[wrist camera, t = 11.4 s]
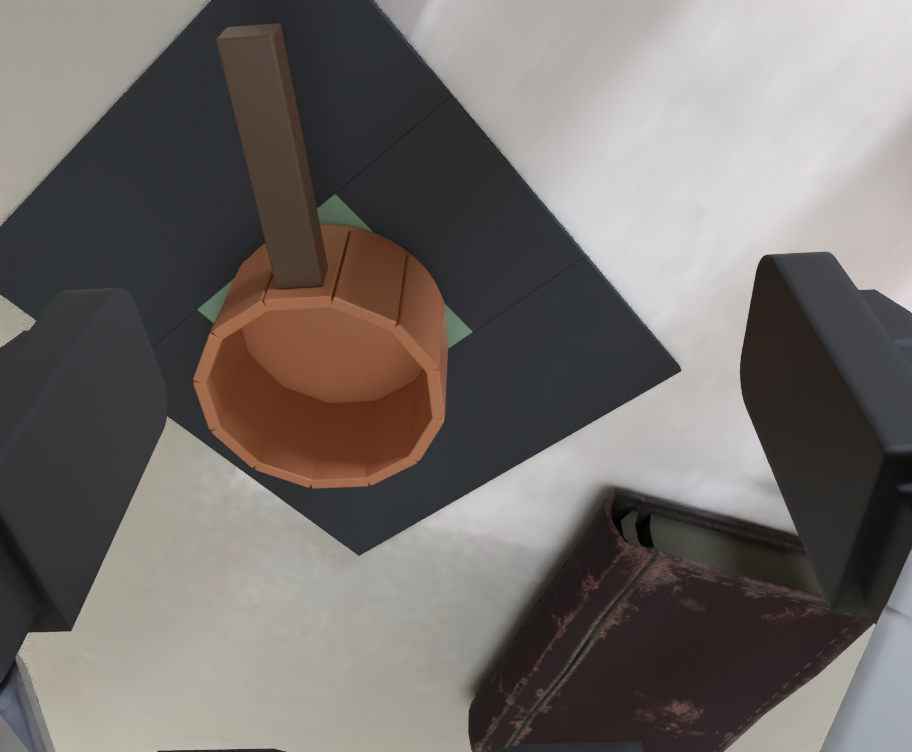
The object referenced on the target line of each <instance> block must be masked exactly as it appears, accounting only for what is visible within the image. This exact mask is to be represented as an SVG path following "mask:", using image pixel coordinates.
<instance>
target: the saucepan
mask: <svg viewBox="0 0 912 752" xmlns="http://www.w3.org/2000/svg"><path fill="white" fill-rule="evenodd" d="M216 43H217V47H218V51H219V56H220V60H221V64H222V68H223V72H224V76H225V80H226V84H227V88H228V92H229V96H230V101H231V105H232V109H233V113H234V117H235V121H236V125H237V129H238V133H239V137H240V141H241V146H242V150H243V154H244V158H245V162H246V166H247V170H248V174H249V178H250V182H251V186H252V191H253V195H254V199H255V203H256V207H257V211H258V215H259V219H260V223H261V227H262V232H263V236H264V240H265V244H263V245H262V246H261V247H259V248H258V249H257V250H256V251H255V252H254V253H253V254H252V255H251V256H250V257H249V258H248V259H247V260H245V261H244V262H243V264H242V265H240V267H239V270H238V272H237V274H236V276H235V278H234V281H233V283H232V285H231V287H230V289H229V292H228V294H227V296H226V298H225V300H224V303H223V305H222V307H221V309H220V311H219V314H218V316H217V318H216V320H215V322H214V325H213V327H212V329H211V331H210V333H209V336H208V339H207V342H206V344H205V347H204V350H203V353H202V355H201V358H200V361H199V364H198V367H197V369H196V372H195V375H194V378H193V380H194V382H193V384H194V387H195V390H196V393H197V395H198V398H199V401H200V404H201V407H202V410H203V413H204V416H205V419H206V421H207V424H208V427H209V429H210V430H211V429H212V433H213V434H214V435H215V436H216V437H217V438H218V439H220V440H221V441H222V442H223V443H224V444H225V445H226V446H227V447H229V448H230V449H231V450H232V451H233V452H234V453H235V454H237V455H238V456H239V457H240V458H241V459H242V460H243V461H245V462H246V463H247V464H248V465H249V466H250V467H252V468H253V467H255V466H256V467H255V470H257V471H260V472H263V473H266V474H269V475H272V476H275V477H278V478H281V479H284V480H287V481H290V482H293V483H296V484H299V485H302V486H305V487H308V488H309V487H310V486H311V485H312V488H336V487H362V486H368V484H370V485H374V484H376V483H378V482H380V481H382V480H384V479H386V478H388V477H390V476H392V475H394V474H396V473H398V472H400V471H402V470H404V469H406V468H408V467H410V466H412V465H414V464H416V463H417V461H420V459H421V458H422V456H423V455H424V453H425V451H426V450H427V448H428V447H429V445H430V443H431V442H432V440H433V439H434V437H435V436H436V434H437V432H438V431H439V429H440V428H441V426H442V424H443V423H444V418H445V404H446V382H447V359H448V338H447V322H446V311H445V305H444V300H443V299H442V295H441V293H440V291H439V289H438V287H437V285H436V283H435V281H434V280H433V278H432V277H431V275H430V274H429V272H428V271H427V270H426V268H425V267H424V266H423V265H422V264H421V263H420V262H419V261H418V260H417V259H416V258H415V257H414V256H413V255H411V254H410V253H409V252H408V251H407V250H405V249H404V248H402V247H401V246H399V245H398V244H396V243H395V242H393V241H391V240H389V239H387V238H385V237H383V236H381V235H379V234H376V233H373V232H370V231H368V230H364V229H360V228H356V227H351V226H343V225H320V222H319V217H318V211H317V206H316V201H315V196H314V191H313V186H312V181H311V176H310V170H309V165H308V160H307V155H306V150H305V145H304V140H303V135H302V129H301V124H300V119H299V114H298V109H297V104H296V99H295V94H294V88H293V83H292V78H291V73H290V68H289V63H288V58H287V52H286V47H285V42H284V37H283V32H282V27H281V25H280V24H279V23H276V24H262V25H249V26H236V27H227V28H226V29H225V30H224V31H223V32H222V33H221V35H220V36H219V37H218V38H217V39H216Z"/></svg>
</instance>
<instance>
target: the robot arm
mask: <svg viewBox="0 0 912 752" xmlns="http://www.w3.org/2000/svg"><path fill="white" fill-rule="evenodd" d="M740 381H741V390H742V395H743V400H744V403H745V406H746V409H747V411H748V413H749V416H750V418H751V421H752V423H753V426H754V428H755V430H756V433H757V435H758V438H759V440H760V443H761V445H762V447H763V450H764V452H765V455H766V457H767V460H768V462H769V464H770V467H771V469H772V472H773V474H774V477H775V479H776V481H777V484H778V486H779V489H780V491H781V493H782V496H783V498H784V501H785V503H786V506H787V508H788V510H789V513H790V515H791V518H792V520H793V523H794V525H795V527H796V530H797V532H798V535H799V537H800V540H801V542H802V544H803V547H804V549H805V552H806V554H807V557H808V559H809V561H810V564H811V566H812V569H813V571H814V574H815V576H816V578H817V581H818V583H819V586H820V588H821V590H822V593H823V595H824V598H825V600H826V603H827V605H828V607H829V610H830V612H831V613H851V612H870V613H871V616H872V618H873V620H874V622H875V624H876V626H875V629H874V631H873V633H872V635H871V638H870V640H869V642H868V644H867V647H866V649H865V651H864V653H863V656H862V658H861V660H860V662H859V665H858V667H857V669H856V671H855V674H854V676H853V678H852V680H851V683H850V685H849V687H848V690H847V692H846V694H845V696H844V699H843V701H842V703H841V705H840V708H839V710H838V712H837V714H836V717H835V719H834V721H833V723H832V726H831V728H830V730H829V732H828V735H827V737H826V739H825V741H824V744H823V746H822V748H821V750H820V752H912V313H911V312H910V311H908V310H906V309H905V308H903V307H902V306H900V305H899V304H897V303H895V302H894V301H892V300H891V299H889V298H887V297H886V296H884V295H883V294H881V293H880V292H878V291H876V290H875V289H874V290H858V289H857V288H856V286H855V285H854V283H853V282H852V281H851V279H850V278H849V276H848V275H847V274H846V272H845V271H844V269H843V268H842V266H841V265H840V264H839V262H838V261H837V259H836V258H835V257H834V256H833V254H831V253H830V252H809V253H791V254H772V255H765V256H763V257H762V259H761V260H760V262H759V264H758V267H757V271H756V276H755V281H754V287H753V292H752V298H751V304H750V309H749V315H748V320H747V326H746V332H745V337H744V343H743V348H742V354H741V362H740ZM167 410H168V401H167V391H166V386H165V383H164V379H163V377H162V374H161V371H160V369H159V366H158V363H157V361H156V358H155V355H154V352H153V350H152V347H151V344H150V342H149V339H148V336H147V334H146V331H145V328H144V325H143V323H142V320H141V317H140V315H139V312H138V309H137V307H136V304H135V302H134V300H133V298H132V296H131V295H130V294H129V293H128V292H127V291H126V290H125V289H123V288H104V289H85V290H66V291H62V292H60V293H58V294H57V295H56V296H55V298H54V299H53V300H52V301H51V303H50V304H49V305H48V307H47V308H46V309H45V311H44V312H43V313H42V315H41V316H40V317H39V318H38V320H37V321H36V322H35V324H34V325H33V326H32V328H31V329H30V330H27V331H23V332H22V333H21V334H19V335H18V336H16V337H15V338H14V339H12V340H11V341H9V342H8V343H7V344H5V345H4V346H2V347H1V348H0V752H55V749H54V746H53V743H52V740H51V737H50V734H49V731H48V728H47V725H46V722H45V719H44V717H43V714H42V711H41V708H40V705H39V702H38V699H37V696H36V693H35V690H34V687H33V684H32V681H31V678H30V675H29V672H28V669H27V667H26V665H25V663H24V662H23V660H22V659H21V657H20V656H19V654H18V651H19V649H20V647H21V645H22V643H23V641H24V639H25V637H26V635H27V633H28V632H61V631H71V630H72V628H73V626H74V624H75V621H76V619H77V617H78V615H79V613H80V611H81V608H82V606H83V604H84V602H85V600H86V597H87V595H88V593H89V591H90V589H91V587H92V584H93V582H94V580H95V578H96V576H97V573H98V571H99V569H100V567H101V565H102V562H103V560H104V558H105V556H106V554H107V552H108V549H109V547H110V545H111V543H112V541H113V538H114V536H115V534H116V532H117V530H118V528H119V525H120V523H121V521H122V519H123V517H124V514H125V512H126V510H127V508H128V506H129V504H130V501H131V499H132V497H133V495H134V493H135V490H136V488H137V486H138V484H139V482H140V479H141V477H142V475H143V473H144V471H145V469H146V466H147V464H148V462H149V460H150V458H151V455H152V453H153V451H154V449H155V447H156V445H157V442H158V440H159V438H160V436H161V434H162V431H163V429H164V426H165V423H166V418H167ZM158 752H285V751H281V750H277V749H228V750H175V751H158ZM493 752H643V746H642V742H597V743H544V744H518V745H514V746H511V747H507V748H504V749H500V750H497V751H493Z"/></svg>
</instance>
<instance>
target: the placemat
mask: <svg viewBox="0 0 912 752" xmlns="http://www.w3.org/2000/svg"><path fill="white" fill-rule="evenodd" d="M276 23H279V24H280V25H281V27H282V32H283V37H284V42H285V47H286V52H287V58H288V63H289V68H290V73H291V78H292V83H293V88H294V94H295V99H296V104H297V109H298V114H299V119H300V124H301V129H302V135H303V140H304V145H305V150H306V155H307V160H308V165H309V170H310V176H311V181H312V186H313V191H314V196H315V201H316V206H317V211H318V217H319V222H320V225H343V226H351V227H356V228H360V229H364V230H368V231H370V232H373V233H376V234H379V235H381V236H383V237H385V238H387V239H389V240H391V241H393V242H395V243H396V244H398V245H399V246H401V247H402V248H404V249H405V250H407V251H408V252H409V253H410V254H411V255H413V256H414V257H415V258H416V259H417V260H418V261H419V262H420V263H421V264H422V265H423V266H424V267H425V268H426V270H427V271H428V272H429V274H430V275H431V277H432V278H433V280H434V281H435V283H436V285H437V287H438V289H439V291H440V293H441V295H442V299H443V300H444V305H445V311H446V322H447V338H448V359H447V382H446V404H445V418H444V423H443V424H442V426H441V428H440V429H439V431H438V432H437V434H436V436H435V437H434V439H433V440H432V442H431V443H430V445H429V447H428V448H427V450H426V451H425V453H424V455H423V456H422V458H421V459H420V461H417V463H416V464H414V465H412V466H410V467H408V468H406V469H404V470H402V471H400V472H398V473H396V474H394V475H392V476H390V477H388V478H386V479H384V480H382V481H380V482H378V483H376V484H374V485H370V484H368V486H362V487H336V488H312V485H311V486H310V487H309V488H308V487H305V486H302V485H299V484H296V483H293V482H290V481H287V480H284V479H281V478H278V477H275V476H272V475H269V474H266V473H263V472H260V471H257V470H255V467H256V466H255V467H253V468H252V467H250V466H249V465H248V464H247V463H246V462H245V461H243V460H242V459H241V458H240V457H239V456H238V455H237V454H235V453H234V452H233V451H232V450H231V449H230V448H229V447H227V446H226V445H225V444H224V443H223V442H222V441H221V440H220V439H218V438H217V437H216V436H215V435H214V434H213V433H212V429H211V430H210V429H209V427H208V424H207V421H206V419H205V416H204V413H203V410H202V407H201V404H200V401H199V398H198V395H197V393H196V390H195V387H194V384H193V382H194V380H193V378H194V375H195V372H196V369H197V367H198V364H199V361H200V358H201V355H202V353H203V350H204V347H205V344H206V342H207V339H208V336H209V333H210V331H211V329H212V327H213V325H214V322H215V320H216V318H217V316H218V314H219V311H220V309H221V307H222V305H223V303H224V300H225V298H226V296H227V294H228V292H229V289H230V287H231V285H232V283H233V281H234V278H235V276H236V274H237V272H238V270H239V267H240V265H242V264H243V262H244V261H245V260H247V259H248V258H249V257H250V256H251V255H252V254H253V253H254V252H255V251H256V250H257V249H258V248H259V247H261V246H262V245H263V244H265V240H264V236H263V232H262V227H261V223H260V219H259V215H258V211H257V207H256V203H255V199H254V195H253V191H252V186H251V182H250V178H249V174H248V170H247V166H246V162H245V158H244V154H243V150H242V146H241V141H240V137H239V133H238V129H237V125H236V121H235V117H234V113H233V109H232V105H231V101H230V96H229V92H228V88H227V84H226V80H225V76H224V72H223V68H222V64H221V60H220V56H219V51H218V47H217V43H216V39H217V38H218V37H219V36H220V35H221V33H222V32H223V31H224V30H225V29H226V28H227V27H236V26H249V25H262V24H276ZM104 288H123V289H125V290H126V291H127V292H128V293H129V294H130V295H131V296H132V298H133V300H134V302H135V304H136V307H137V309H138V312H139V315H140V317H141V320H142V323H143V325H144V328H145V331H146V334H147V336H148V339H149V342H150V344H151V347H152V350H153V352H154V355H155V358H156V361H157V363H158V366H159V369H160V371H161V374H162V377H163V379H164V383H165V386H166V391H167V401H168V410H167V416H168V417H169V418H171V419H172V420H174V421H175V422H176V423H178V424H179V425H180V426H182V427H183V428H184V429H186V430H187V431H189V432H190V433H191V434H193V435H194V436H195V437H197V438H198V439H200V440H201V441H202V442H204V443H205V444H206V445H208V446H209V447H211V448H212V449H213V450H215V451H216V452H217V453H219V454H220V455H221V456H223V457H224V458H226V459H227V460H228V461H230V462H231V463H232V464H234V465H235V466H237V467H238V468H239V469H241V470H242V471H243V472H245V473H246V474H248V475H249V476H250V477H252V478H253V479H255V480H256V481H257V482H259V483H260V484H261V485H263V486H264V487H265V488H267V489H268V490H269V491H271V492H272V493H274V494H275V495H276V496H278V497H279V498H280V499H282V500H283V501H285V502H286V503H287V504H289V505H290V506H291V507H293V508H294V509H296V510H297V511H298V512H300V513H301V514H302V515H304V516H305V517H306V518H308V519H309V520H311V521H312V522H313V523H315V524H316V525H317V526H319V527H320V528H322V529H323V530H324V531H326V532H327V533H328V534H330V535H331V536H333V537H334V538H335V539H337V540H338V541H339V542H341V543H342V544H344V545H345V546H346V547H348V548H349V549H350V550H352V551H353V552H354V553H356V554H357V555H359V556H360V555H361V554H363V553H365V552H367V551H368V550H370V549H372V548H374V547H375V546H377V545H379V544H381V543H382V542H384V541H386V540H388V539H389V538H391V537H393V536H395V535H396V534H398V533H400V532H401V531H403V530H405V529H407V528H408V527H410V526H412V525H414V524H415V523H417V522H419V521H421V520H422V519H424V518H426V517H428V516H429V515H431V514H433V513H435V512H436V511H438V510H440V509H442V508H443V507H445V506H447V505H449V504H450V503H452V502H454V501H456V500H457V499H459V498H461V497H463V496H464V495H466V494H468V493H470V492H471V491H473V490H475V489H476V488H478V487H480V486H482V485H483V484H485V483H487V482H489V481H490V480H492V479H494V478H496V477H497V476H499V475H501V474H503V473H504V472H506V471H508V470H510V469H511V468H513V467H515V466H517V465H518V464H520V463H522V462H524V461H525V460H527V459H529V458H531V457H532V456H534V455H536V454H538V453H539V452H541V451H543V450H544V449H546V448H548V447H550V446H551V445H553V444H555V443H557V442H558V441H560V440H562V439H564V438H565V437H567V436H569V435H571V434H572V433H574V432H576V431H578V430H579V429H581V428H583V427H585V426H586V425H588V424H590V423H592V422H593V421H595V420H597V419H599V418H600V417H602V416H604V415H606V414H607V413H609V412H611V411H613V410H614V409H616V408H618V407H619V406H621V405H623V404H625V403H626V402H628V401H630V400H632V399H633V398H635V397H637V396H639V395H640V394H642V393H644V392H646V391H647V390H649V389H651V388H653V387H654V386H656V385H658V384H660V383H661V382H663V381H665V380H667V379H668V378H670V377H672V376H674V375H675V374H677V373H679V372H681V368H680V366H679V365H678V364H677V363H676V361H675V360H674V359H673V358H672V357H671V355H670V354H669V353H668V352H667V351H666V349H665V348H664V347H663V346H662V345H661V344H660V342H659V341H658V340H657V339H656V338H655V336H654V335H653V334H652V333H651V332H650V330H649V329H648V328H647V327H646V326H645V324H644V323H643V322H642V321H641V320H640V318H639V317H638V316H637V315H636V314H635V312H634V311H633V310H632V309H631V308H630V306H629V305H628V304H627V303H626V302H625V301H624V299H623V298H622V297H621V296H620V295H619V293H618V292H617V291H616V290H615V289H614V287H613V286H612V285H611V284H610V283H609V281H608V280H607V279H606V278H605V277H604V275H603V274H602V273H601V272H600V271H599V269H598V268H597V267H596V266H595V265H594V264H593V262H592V261H591V260H590V259H589V258H588V256H587V255H586V254H585V253H584V252H583V250H582V249H581V248H580V247H579V246H578V244H577V243H576V242H575V241H574V240H573V238H572V237H571V236H570V235H569V234H568V232H567V231H566V230H565V229H564V228H563V227H562V225H561V224H560V223H559V222H558V221H557V219H556V218H555V217H554V216H553V215H552V213H551V212H550V211H549V210H548V209H547V207H546V206H545V205H544V204H543V203H542V201H541V200H540V199H539V198H538V197H537V195H536V194H535V193H534V192H533V191H532V190H531V188H530V187H529V186H528V185H527V184H526V182H525V181H524V180H523V179H522V178H521V176H520V175H519V174H518V173H517V172H516V170H515V169H514V168H513V167H512V166H511V164H510V163H509V162H508V161H507V160H506V158H505V157H504V156H503V155H502V154H501V152H500V151H499V150H498V149H497V148H496V147H495V145H494V144H493V143H492V142H491V141H490V139H489V138H488V137H487V136H486V135H485V133H484V132H483V131H482V130H481V129H480V127H479V126H478V125H477V124H476V123H475V121H474V120H473V119H472V118H471V117H470V115H469V114H468V113H467V112H466V111H465V110H464V108H463V107H462V106H461V105H460V104H459V102H458V101H457V100H456V99H455V98H454V96H453V95H452V94H451V93H450V92H449V90H448V89H447V88H446V87H445V86H444V84H443V83H442V82H441V81H440V80H439V78H438V77H437V76H436V75H435V74H434V73H433V71H432V70H431V69H430V68H429V67H428V65H427V64H426V63H425V62H424V61H423V59H422V58H421V57H420V56H419V55H418V53H417V52H416V51H415V50H414V49H413V47H412V46H411V45H410V44H409V43H408V41H407V40H406V39H405V38H404V37H403V36H402V34H401V33H400V32H399V31H398V30H397V28H396V27H395V26H394V25H393V24H392V22H391V21H390V20H389V19H388V18H387V16H386V15H385V14H384V13H383V12H382V10H381V9H380V8H379V7H378V6H377V4H376V3H375V2H374V1H373V0H211V2H210V3H209V4H208V5H207V6H206V7H205V8H204V9H203V10H202V11H201V12H200V13H199V14H198V16H197V17H196V18H195V19H194V20H193V21H192V22H191V23H190V24H189V25H188V26H187V27H186V28H185V29H184V31H183V32H182V33H181V34H180V35H179V36H178V37H177V38H176V39H175V40H174V41H173V42H172V43H171V44H170V46H169V47H168V48H167V49H166V50H165V51H164V52H163V53H162V54H161V55H160V56H159V57H158V58H157V59H156V61H155V62H154V63H153V64H152V65H151V66H150V67H149V68H148V69H147V70H146V71H145V72H144V73H143V75H142V76H141V77H140V78H139V79H138V80H137V81H136V82H135V83H134V84H133V85H132V86H131V87H130V88H129V90H128V91H127V92H126V93H125V94H124V95H123V96H122V97H121V98H120V99H119V100H118V101H117V102H116V103H115V105H114V106H113V107H112V108H111V109H110V110H109V111H108V112H107V113H106V114H105V115H104V116H103V117H102V119H101V120H100V121H99V122H98V123H97V124H96V125H95V126H94V127H93V128H92V129H91V130H90V131H89V132H88V134H87V135H86V136H85V137H84V138H83V139H82V140H81V141H80V142H79V143H78V144H77V145H76V146H75V147H74V149H73V150H72V151H71V152H70V153H69V154H68V155H67V156H66V157H65V158H64V159H63V160H62V161H61V162H60V164H59V165H58V166H57V167H56V168H55V169H54V170H53V171H52V172H51V173H50V174H49V175H48V176H47V178H46V179H45V180H44V181H43V182H42V183H41V184H40V185H39V186H38V187H37V188H36V189H35V190H34V191H33V193H32V194H31V195H30V196H29V197H28V198H27V199H26V200H25V201H24V202H23V203H22V204H21V205H20V206H19V208H18V209H17V210H16V211H15V212H14V213H13V214H12V215H11V216H10V217H9V218H8V219H7V220H6V221H5V223H4V224H3V225H2V226H1V227H0V294H1V295H2V296H3V297H5V298H6V299H8V300H9V301H10V302H12V303H13V304H14V305H16V306H17V307H19V308H20V309H21V310H23V311H24V312H25V313H27V314H28V315H30V316H31V317H32V318H34V319H35V320H36V321H37V320H38V318H39V317H40V316H41V315H42V313H43V312H44V311H45V309H46V308H47V307H48V305H49V304H50V303H51V301H52V300H53V299H54V298H55V296H56V295H57V294H58V293H60V292H62V291H66V290H85V289H104Z"/></svg>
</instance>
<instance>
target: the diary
mask: <svg viewBox="0 0 912 752" xmlns="http://www.w3.org/2000/svg"><path fill="white" fill-rule="evenodd" d="M874 623H875V622H874V620H873V618H872V616H871V613H870V612H851V613H831V612H830V610H829V607H828V605H827V603H826V600H825V598H824V595H823V593H822V590H821V588H820V586H819V583H818V581H817V578H816V576H815V574H814V571H813V569H812V566H811V564H810V561H809V559H808V557H807V554H806V552H805V549H804V547H803V544H802V542H801V540H800V538H796V537H793V536H789V535H785V534H781V533H778V532H774V531H770V530H766V529H763V528H759V527H755V526H751V525H747V524H744V523H740V522H736V521H732V520H729V519H725V518H721V517H717V516H714V515H710V514H706V513H702V512H698V511H695V510H691V509H687V508H683V507H680V506H676V505H672V504H668V503H664V502H661V501H657V500H653V499H649V498H646V499H644V498H643V497H642V496H638V495H634V494H631V493H627V492H623V491H619V490H613V491H612V492H611V493H610V495H609V496H608V498H607V499H606V501H605V502H604V504H603V505H602V507H601V509H600V510H599V512H598V513H597V515H596V517H595V518H594V520H593V521H592V523H591V525H590V526H589V528H588V529H587V531H586V533H585V534H584V536H583V537H582V539H581V541H580V542H579V544H578V545H577V547H576V549H575V550H574V552H573V553H572V555H571V557H570V558H569V560H568V561H567V563H566V564H565V566H564V567H563V569H562V570H561V571H560V573H559V574H558V576H557V577H556V579H555V580H554V581H553V583H552V584H551V586H550V587H549V588H548V590H547V591H546V593H545V594H544V595H543V597H542V598H541V600H540V601H539V603H538V604H537V605H536V607H535V608H534V610H533V611H532V612H531V614H530V615H529V617H528V619H527V620H526V622H525V624H524V625H523V627H522V628H521V630H520V632H519V633H518V635H517V637H516V638H515V640H514V642H513V643H512V645H511V646H510V648H509V650H508V651H507V653H506V655H505V656H504V658H503V660H502V661H501V663H500V664H499V665H498V667H497V668H496V669H495V671H494V672H493V674H492V675H491V676H490V678H489V679H488V680H487V682H486V683H485V684H484V686H483V687H482V689H481V690H480V691H479V693H478V694H477V695H476V697H475V698H474V700H473V701H472V703H471V706H470V709H469V728H468V733H469V739H470V745H471V750H472V752H493V751H497V750H500V749H504V748H507V747H511V746H514V745H518V744H544V743H597V742H642V746H643V752H724V751H725V750H726V749H727V748H728V747H729V746H730V745H732V744H733V743H734V742H735V741H736V740H737V739H738V738H739V737H740V736H741V735H742V734H744V733H745V732H746V731H747V730H748V729H749V728H750V727H751V726H752V725H753V724H754V723H756V722H757V721H758V720H759V719H760V718H761V717H762V716H763V715H764V714H766V713H767V712H768V711H770V710H771V709H772V708H774V707H775V706H776V705H778V704H779V703H780V702H782V701H783V700H784V699H786V698H787V697H788V696H790V695H791V694H792V693H794V692H795V691H796V690H798V689H799V688H800V687H802V686H803V685H805V684H806V683H807V682H809V681H810V680H811V679H813V678H814V677H815V676H817V675H818V674H819V673H820V672H821V671H822V670H824V669H825V668H826V667H827V666H828V665H829V664H830V663H831V662H832V661H833V660H834V659H836V658H837V657H838V656H839V655H840V654H841V653H842V652H843V651H844V650H845V649H846V648H848V647H849V646H850V645H851V644H852V643H853V642H854V641H855V640H856V639H857V638H858V637H860V636H861V635H862V634H863V633H864V632H865V631H866V630H867V629H868V628H869V627H870V626H872V625H873V624H874Z"/></svg>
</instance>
